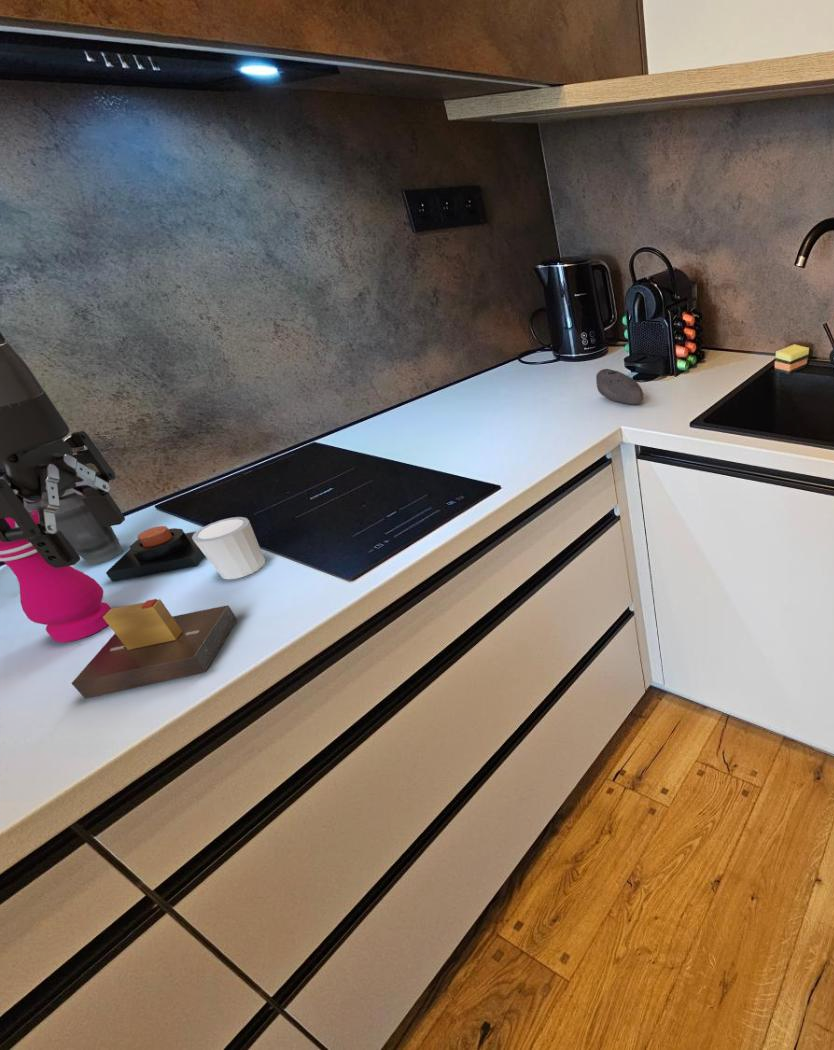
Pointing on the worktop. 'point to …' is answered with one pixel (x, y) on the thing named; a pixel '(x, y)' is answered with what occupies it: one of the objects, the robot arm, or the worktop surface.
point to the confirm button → (154, 536)
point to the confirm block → (157, 557)
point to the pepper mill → (55, 592)
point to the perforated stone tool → (619, 387)
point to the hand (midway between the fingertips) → (92, 543)
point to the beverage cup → (85, 530)
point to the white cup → (230, 547)
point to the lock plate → (158, 655)
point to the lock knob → (143, 624)
